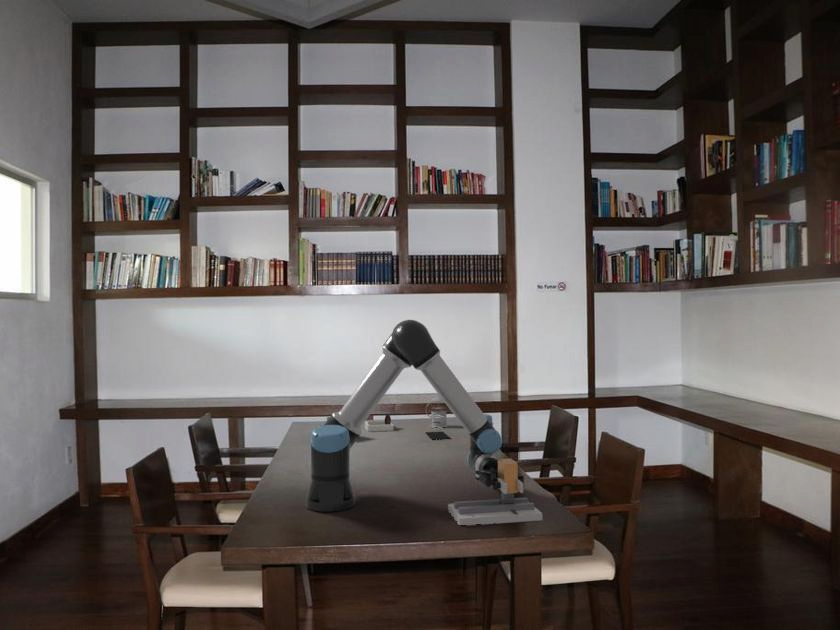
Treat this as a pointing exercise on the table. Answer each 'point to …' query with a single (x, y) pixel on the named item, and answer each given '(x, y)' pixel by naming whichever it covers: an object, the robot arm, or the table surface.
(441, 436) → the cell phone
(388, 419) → the compass
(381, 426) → the watch dish
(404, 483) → the table surface
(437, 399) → the french press
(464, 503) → the fader console
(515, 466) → the fader
